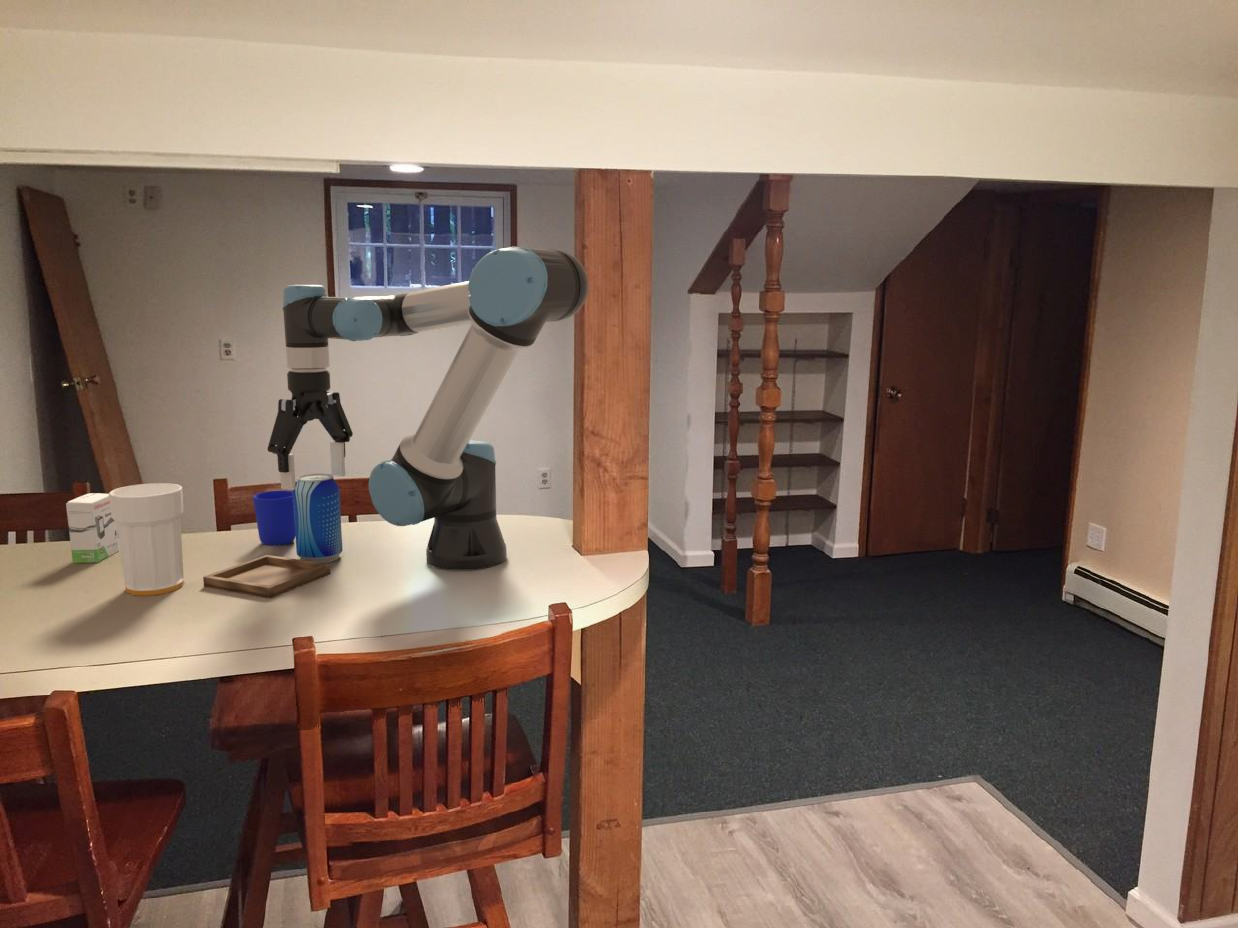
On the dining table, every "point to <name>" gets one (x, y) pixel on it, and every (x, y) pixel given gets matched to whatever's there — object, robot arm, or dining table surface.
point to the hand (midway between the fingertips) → (314, 482)
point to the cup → (149, 536)
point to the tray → (267, 576)
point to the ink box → (91, 528)
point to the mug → (275, 517)
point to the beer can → (317, 518)
